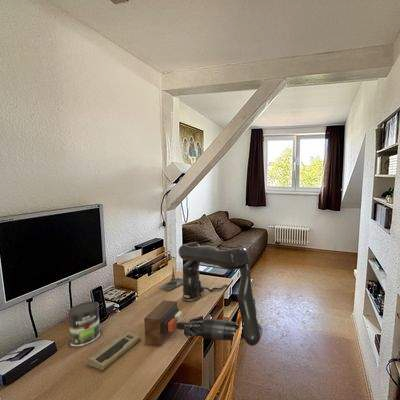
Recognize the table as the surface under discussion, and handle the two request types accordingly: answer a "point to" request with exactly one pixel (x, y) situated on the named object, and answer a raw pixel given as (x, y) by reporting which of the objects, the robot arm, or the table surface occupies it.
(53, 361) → the table surface
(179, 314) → the cream key
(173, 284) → the eiffel tower figurine
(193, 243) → the robot arm
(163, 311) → the key block
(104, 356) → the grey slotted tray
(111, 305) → the calculator
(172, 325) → the terracotta key
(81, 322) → the coffee can
